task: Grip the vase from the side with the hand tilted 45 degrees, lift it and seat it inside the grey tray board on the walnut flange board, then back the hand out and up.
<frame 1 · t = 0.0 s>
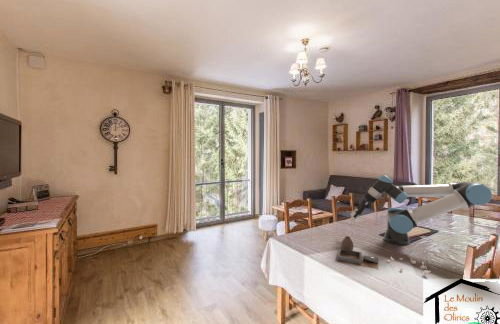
hand: (351, 218, 168), 15 cm above the table, tool tilted 35°, fingers open, 13 cm apart
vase: (347, 251, 150), on the table
flange board: (357, 261, 134), on the table
grey tray board: (349, 258, 136), resting on flange board
game piece set: (407, 269, 128), on the table
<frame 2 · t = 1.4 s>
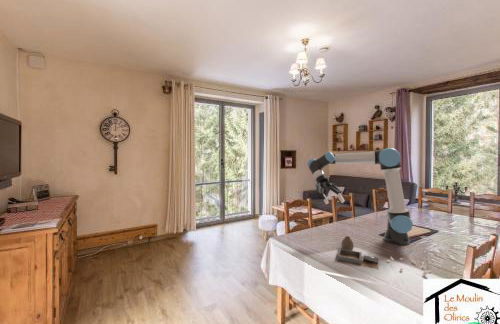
hand: (335, 202, 158), 28 cm above the table, tool tilted 45°, fingers open, 13 cm apart
nothing on the table moved.
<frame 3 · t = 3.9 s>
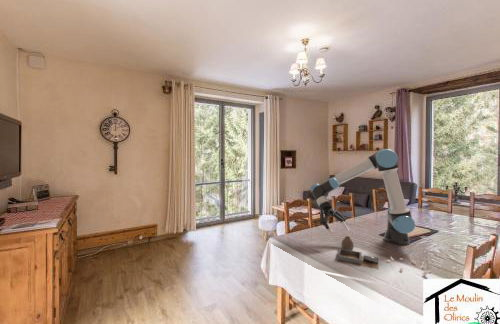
hand: (339, 232, 154), 10 cm above the table, tool tilted 45°, fingers open, 13 cm apart
nothing on the table moved.
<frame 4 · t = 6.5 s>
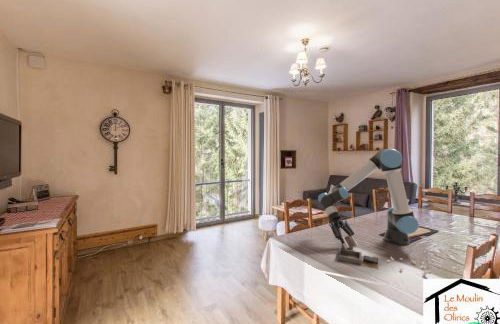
hand: (351, 247, 146), 4 cm above the table, tool tilted 45°, fingers closed on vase, 7 cm apart
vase: (347, 251, 150), on the table, touching gripper
everything else where it was.
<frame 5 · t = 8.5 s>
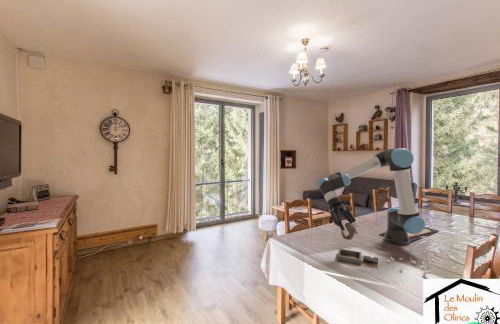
hand: (352, 234, 135), 15 cm above the table, tool tilted 45°, fingers closed on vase, 7 cm apart
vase: (347, 238, 139), point 11 cm above the table, touching gripper
everything else where it was.
when the fingers open (6 cm above the table, at t = 10.7 s): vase drops 1 cm, resting on flange board.
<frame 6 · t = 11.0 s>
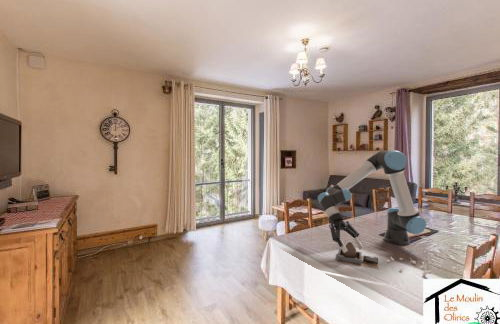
hand: (353, 250, 133), 7 cm above the table, tool tilted 45°, fingers open, 11 cm apart
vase: (349, 258, 136), point 1 cm above the table, touching flange board
everything else where it was.
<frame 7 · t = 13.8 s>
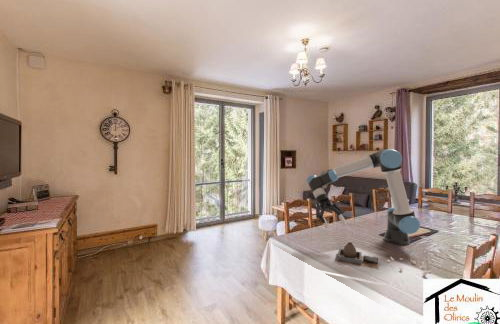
hand: (336, 226, 147), 16 cm above the table, tool tilted 40°, fingers open, 13 cm apart
nothing on the table moved.
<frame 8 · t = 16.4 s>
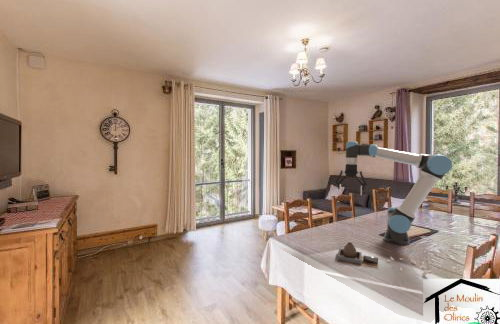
hand: (350, 194, 169), 32 cm above the table, tool pointing down, fingers open, 13 cm apart
nothing on the table moved.
at the end: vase 0.1 cm off-centre on the grey tray board, point 0.0 cm above the grey tray board's base; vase tilted 0°; the gripper is holding nothing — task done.
